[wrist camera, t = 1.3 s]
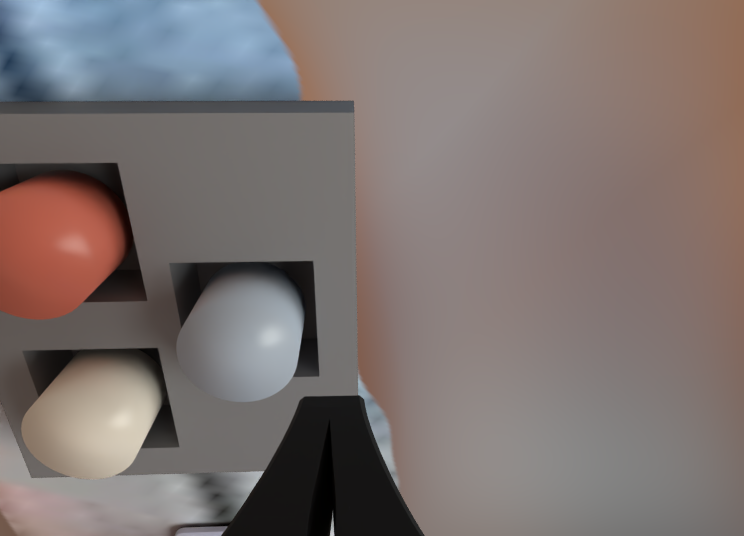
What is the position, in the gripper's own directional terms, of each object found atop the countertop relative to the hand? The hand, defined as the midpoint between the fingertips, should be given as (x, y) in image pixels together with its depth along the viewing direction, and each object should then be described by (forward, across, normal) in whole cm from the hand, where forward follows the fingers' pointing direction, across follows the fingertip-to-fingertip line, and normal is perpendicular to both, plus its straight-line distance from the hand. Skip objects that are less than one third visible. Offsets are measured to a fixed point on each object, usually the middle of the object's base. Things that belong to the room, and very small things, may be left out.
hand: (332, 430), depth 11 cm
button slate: (+9, +3, +2) cm, 9 cm away
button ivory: (+9, +9, +5) cm, 14 cm away
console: (+10, +6, +2) cm, 12 cm away
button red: (+8, +9, -2) cm, 13 cm away
